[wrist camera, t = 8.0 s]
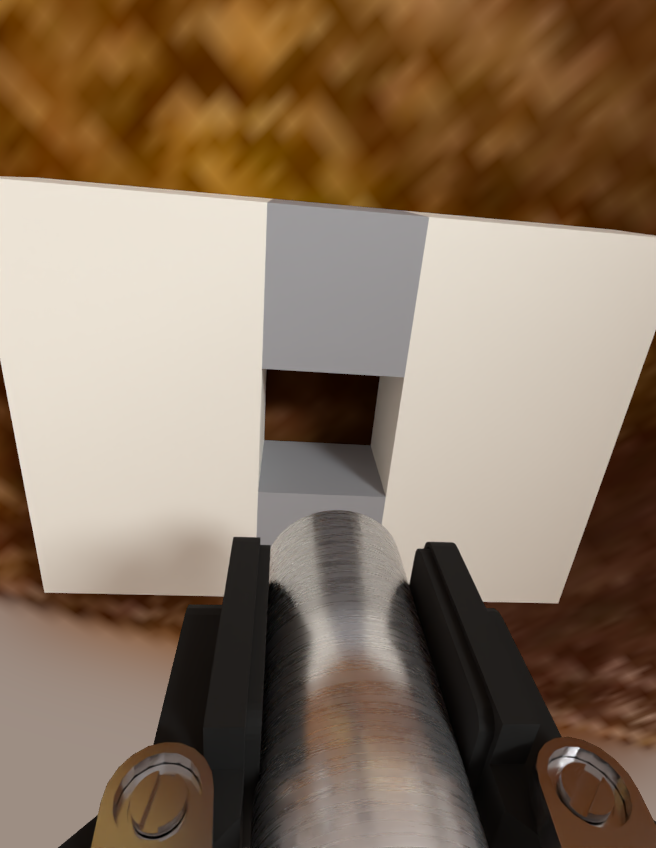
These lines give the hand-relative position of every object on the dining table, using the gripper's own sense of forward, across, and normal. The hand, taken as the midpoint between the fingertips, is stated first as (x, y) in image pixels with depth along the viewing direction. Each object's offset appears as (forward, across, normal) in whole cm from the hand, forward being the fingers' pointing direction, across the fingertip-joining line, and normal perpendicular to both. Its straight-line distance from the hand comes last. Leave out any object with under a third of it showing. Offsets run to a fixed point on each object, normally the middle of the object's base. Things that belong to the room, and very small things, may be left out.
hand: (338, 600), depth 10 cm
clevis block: (+11, 0, 0) cm, 11 cm away
